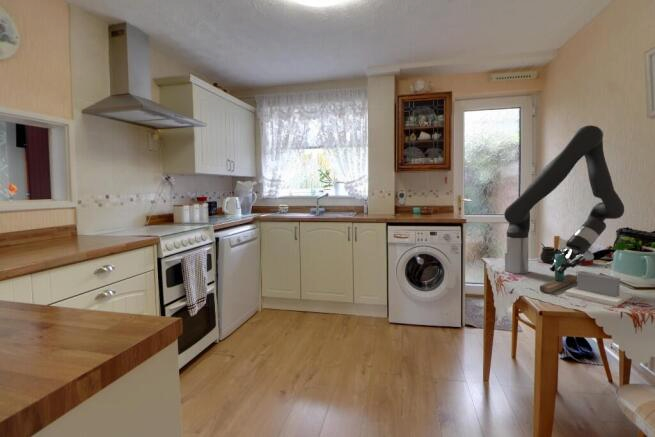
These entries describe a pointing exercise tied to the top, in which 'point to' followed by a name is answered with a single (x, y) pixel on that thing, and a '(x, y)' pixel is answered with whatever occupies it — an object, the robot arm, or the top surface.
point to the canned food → (587, 259)
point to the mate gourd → (547, 254)
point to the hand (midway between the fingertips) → (554, 271)
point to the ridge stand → (599, 289)
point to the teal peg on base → (558, 277)
